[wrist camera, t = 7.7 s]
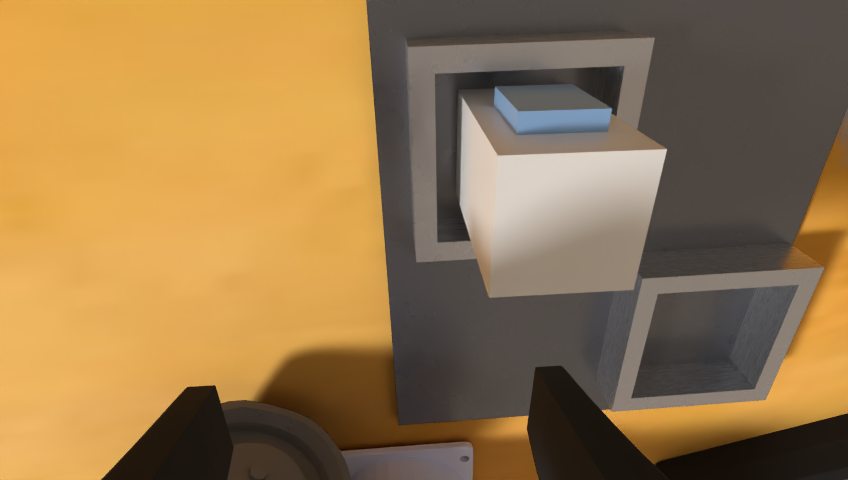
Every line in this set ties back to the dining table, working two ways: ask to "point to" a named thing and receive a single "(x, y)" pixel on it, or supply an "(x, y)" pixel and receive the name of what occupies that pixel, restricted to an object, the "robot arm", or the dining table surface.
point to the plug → (553, 189)
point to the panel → (672, 212)
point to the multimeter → (771, 456)
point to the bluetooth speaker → (280, 445)
